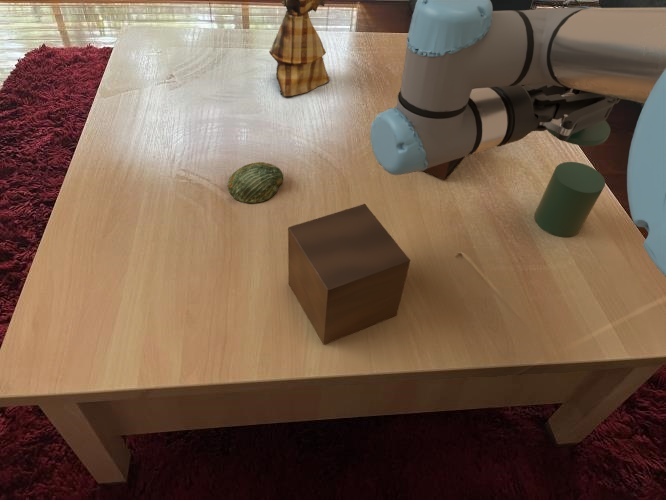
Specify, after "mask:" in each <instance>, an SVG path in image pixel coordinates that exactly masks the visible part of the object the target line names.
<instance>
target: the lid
mask: <svg viewBox="0 0 666 500" xmlns="http://www.w3.org/2000/svg"><path fill="white" fill-rule="evenodd" d="M583 93H590V92H587V91H582V90H580V91H579V94H583ZM546 131H547V132H548V133H549V134H551V136H554V137H555V138H557V137H558V134H559V133H557V132H555V131H553V130H550V129H547V130H546ZM610 134H611V126H610V125H609V123H608V122H607V120H604V121H602V122H599V123H597V124H594V125H592V126H590V127H587V128H585V129H583V130H580V131H578V132H576V133H573V134H571V136H570V137H569V138H568V140H566V141H564V142H565V143H568V144H571V145H576V146H581V147H594V146H599V145H602V144H604V143H605V142H606V141H607V140H608V138H609V136H610Z"/></svg>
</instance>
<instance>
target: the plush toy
mask: <svg viewBox="0 0 666 500" xmlns="http://www.w3.org/2000/svg"><path fill="white" fill-rule="evenodd" d="M326 1H327V0H281V4H282V5H283V8H286V11H285V14H284V16H283V18H282V20H281V23H280V26H279V29H278V31H277V34H276V36H275V37H274V40H273V42H272V45H271V47H270V49H269V51H268V52H269V54H270V56H271V57H272V58H273V59H274V60H275V62H276V63H277V65H276V70H275V71H276V73H275V75H276V80H277V83H278V86H279V89H280V90H279V92H280V93H279V94H280V95H281V96H282V97H285V98H287V97H292V96H296V95H301V94H305V93H308V92H311V91H312V90H314V89H316V88H318V87H320V86H323V85H325V84H327V83H328V82H329V81H330V79H331V77H330V76H329V75H328V71H327V69H326V65H325V62H324V56H325V55H326V53H327V51H326V49H325V47H324V45H323V42H322V40H321V38H320V36H319V34H318V32H317V30H316V29H315V27H314V25H313V23H312V20H311V17H310V15H309V13H310V12H311V11H313V12H315V13H316V12H317V10H318V8H319V6H321V7H325V4H326Z"/></svg>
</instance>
